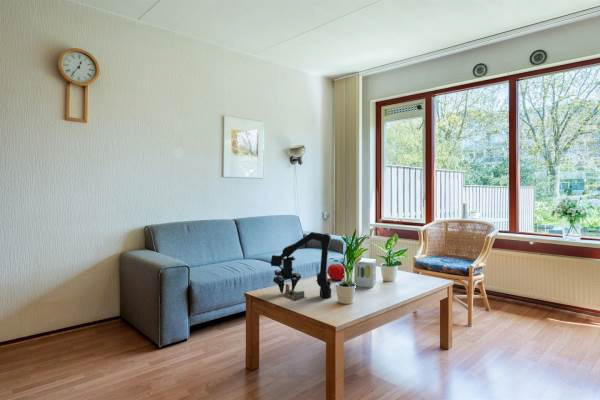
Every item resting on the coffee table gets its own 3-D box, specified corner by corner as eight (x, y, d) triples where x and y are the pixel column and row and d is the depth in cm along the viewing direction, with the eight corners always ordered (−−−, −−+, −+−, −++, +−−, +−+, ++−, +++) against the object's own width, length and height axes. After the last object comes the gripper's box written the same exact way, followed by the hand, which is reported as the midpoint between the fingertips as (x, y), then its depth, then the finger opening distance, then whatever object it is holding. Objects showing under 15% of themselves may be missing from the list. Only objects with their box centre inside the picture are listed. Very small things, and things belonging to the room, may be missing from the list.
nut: (300, 297, 221) (300, 292, 221) (296, 298, 218) (296, 293, 218) (296, 296, 223) (296, 290, 223) (292, 297, 221) (292, 291, 221)
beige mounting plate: (307, 298, 221) (307, 290, 221) (295, 302, 214) (295, 294, 214) (290, 293, 232) (290, 285, 231) (279, 296, 225) (279, 288, 224)
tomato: (342, 282, 259) (342, 266, 258) (324, 280, 264) (324, 264, 264) (347, 278, 270) (347, 263, 269) (330, 276, 275) (330, 261, 275)
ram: (294, 294, 226) (294, 285, 225) (288, 296, 222) (288, 286, 222) (288, 292, 229) (288, 283, 229) (282, 294, 226) (282, 284, 226)
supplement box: (353, 285, 251) (354, 260, 250) (357, 281, 263) (357, 257, 263) (372, 288, 246) (373, 262, 246) (375, 283, 259) (376, 258, 258)
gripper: (289, 262, 238) (289, 286, 239) (267, 266, 225) (267, 291, 226) (301, 265, 230) (301, 289, 231) (279, 270, 217) (279, 295, 218)
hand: (287, 291), depth 227 cm, fingers open, 9 cm apart
